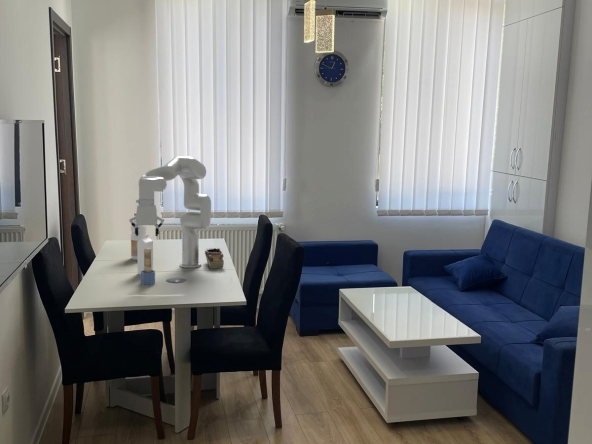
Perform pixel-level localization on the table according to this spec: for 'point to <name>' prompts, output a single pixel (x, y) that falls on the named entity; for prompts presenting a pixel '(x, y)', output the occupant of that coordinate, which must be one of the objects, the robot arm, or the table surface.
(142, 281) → the cup
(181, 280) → the coaster
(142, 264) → the milk
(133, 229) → the fruit juice
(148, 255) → the wooden pestle
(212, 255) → the decorative box
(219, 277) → the table surface
